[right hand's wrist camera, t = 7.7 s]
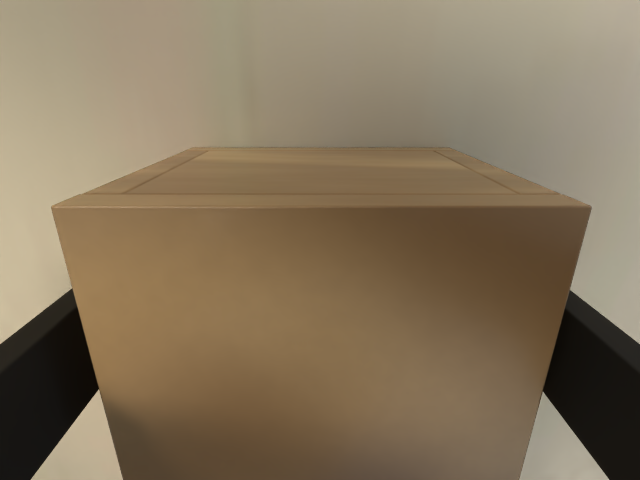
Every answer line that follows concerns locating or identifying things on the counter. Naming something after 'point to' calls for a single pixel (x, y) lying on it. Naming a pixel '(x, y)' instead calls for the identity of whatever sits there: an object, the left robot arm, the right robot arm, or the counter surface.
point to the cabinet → (321, 312)
